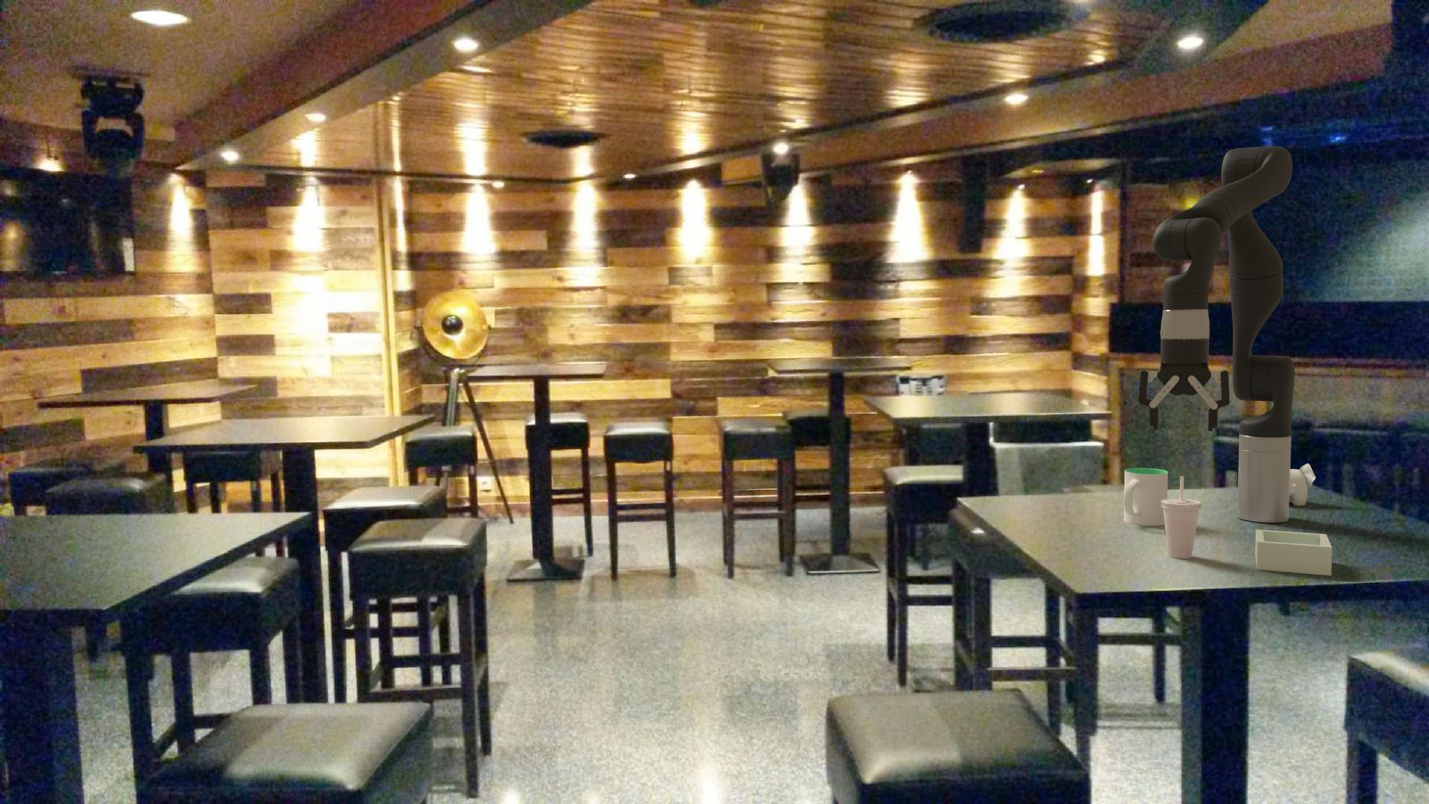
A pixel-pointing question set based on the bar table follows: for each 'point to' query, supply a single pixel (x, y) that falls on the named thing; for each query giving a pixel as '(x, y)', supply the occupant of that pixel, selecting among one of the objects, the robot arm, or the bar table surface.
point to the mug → (1145, 496)
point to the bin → (1293, 552)
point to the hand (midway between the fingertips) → (1182, 430)
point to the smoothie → (1180, 524)
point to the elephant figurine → (1300, 484)
